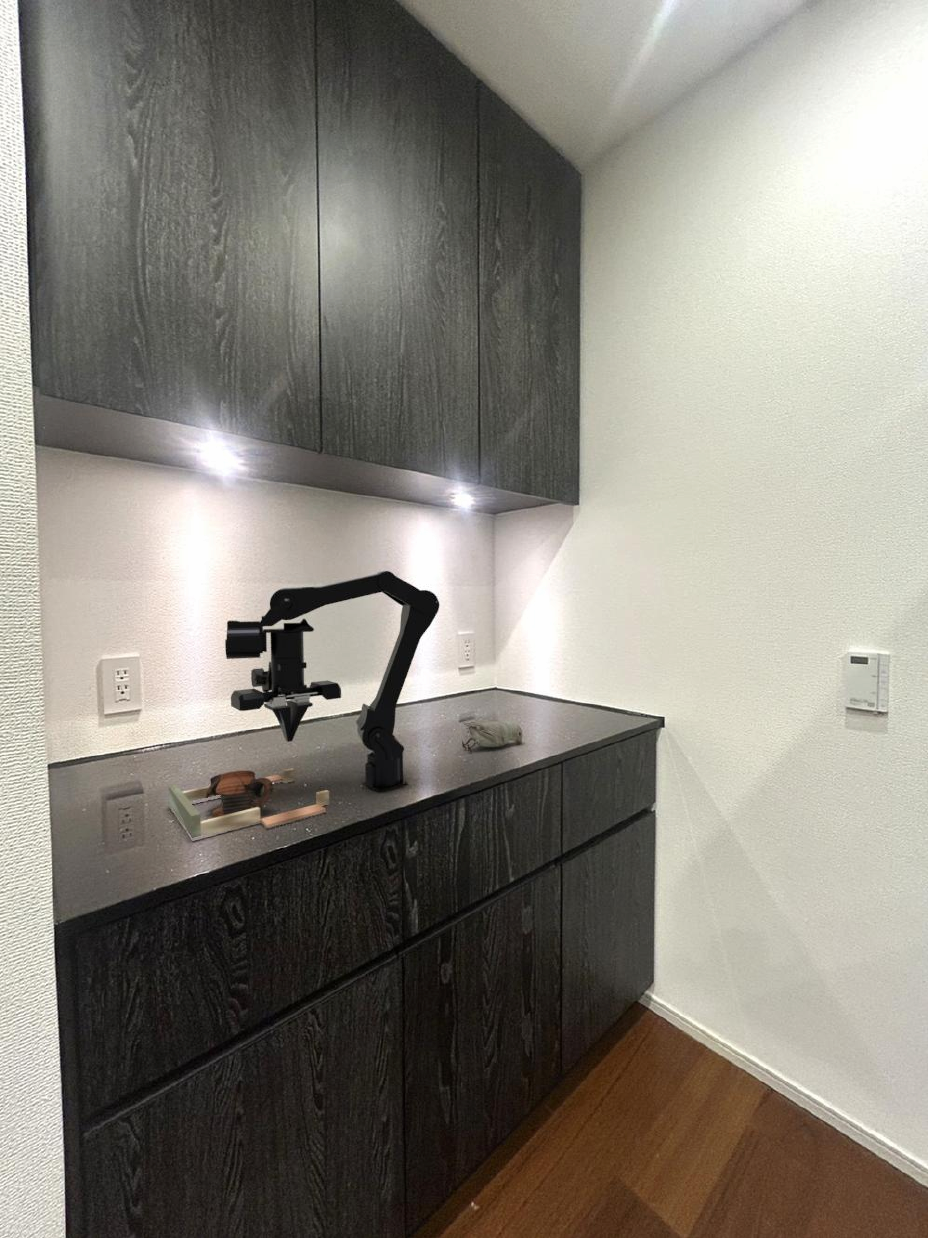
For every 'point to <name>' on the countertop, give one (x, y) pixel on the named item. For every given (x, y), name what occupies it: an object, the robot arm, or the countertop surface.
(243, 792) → the pottery mug
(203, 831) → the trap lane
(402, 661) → the robot arm
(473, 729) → the decorative bird
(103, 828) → the countertop surface
